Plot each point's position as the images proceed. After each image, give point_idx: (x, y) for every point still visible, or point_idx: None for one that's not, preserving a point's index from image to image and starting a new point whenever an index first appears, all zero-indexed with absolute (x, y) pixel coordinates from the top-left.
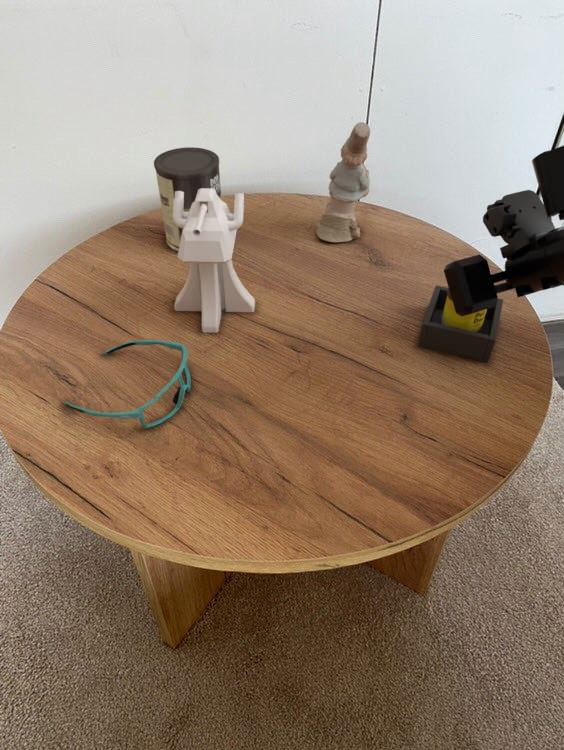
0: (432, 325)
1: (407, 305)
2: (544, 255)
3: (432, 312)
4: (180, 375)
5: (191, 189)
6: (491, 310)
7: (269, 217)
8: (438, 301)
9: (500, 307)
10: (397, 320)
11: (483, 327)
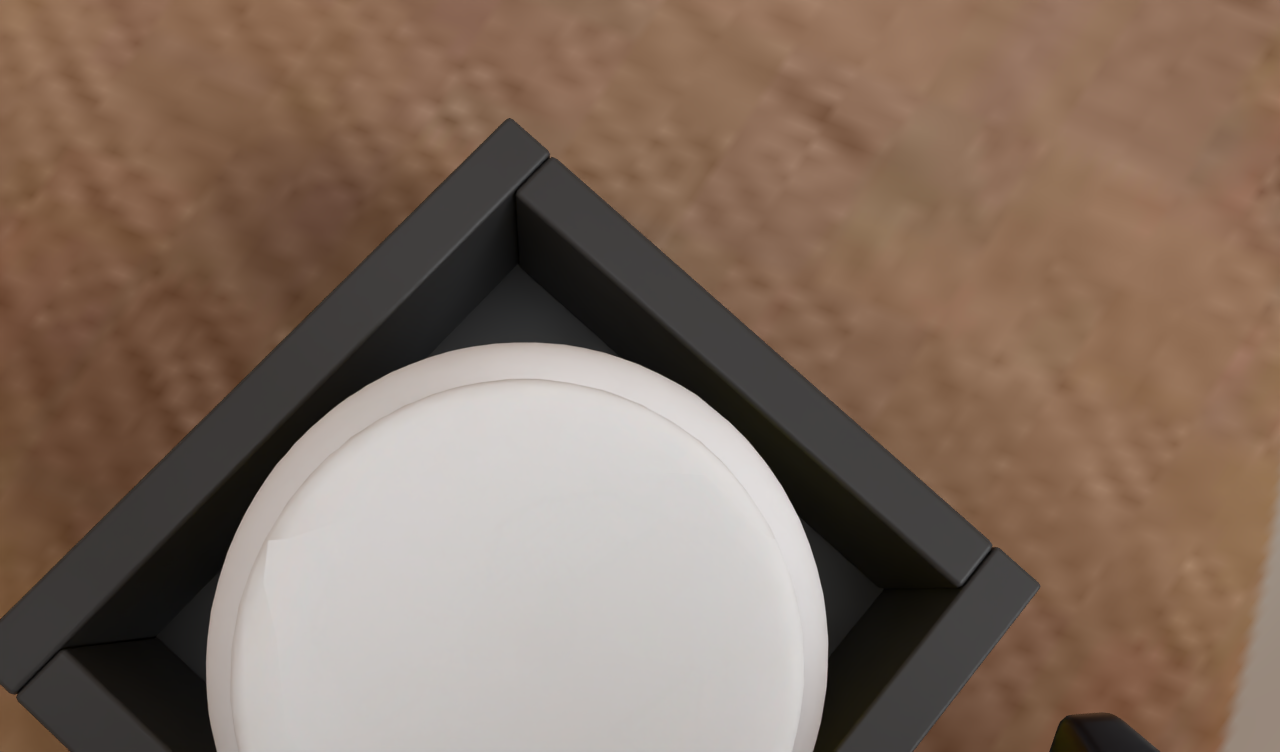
0: (45, 722)
1: (336, 119)
2: None
3: (192, 512)
4: None
5: None
6: (899, 575)
7: None
8: (523, 246)
9: (936, 698)
10: (134, 263)
11: None
